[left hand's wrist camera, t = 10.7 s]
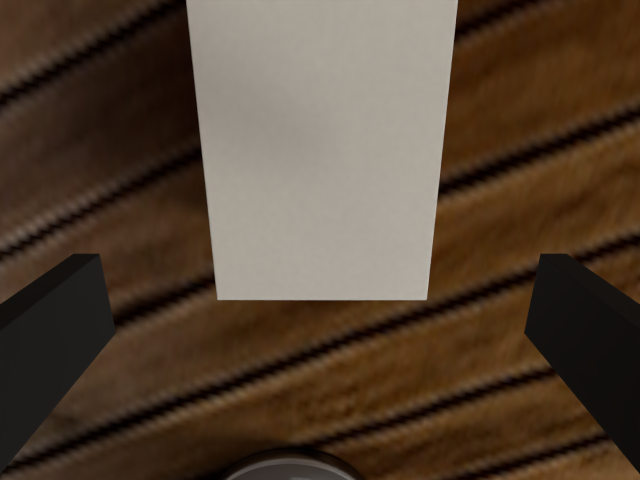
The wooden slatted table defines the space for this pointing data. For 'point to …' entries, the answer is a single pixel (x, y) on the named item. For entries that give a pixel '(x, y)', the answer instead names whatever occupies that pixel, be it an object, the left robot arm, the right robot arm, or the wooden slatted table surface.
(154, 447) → the wooden slatted table surface
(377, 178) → the cabinet
